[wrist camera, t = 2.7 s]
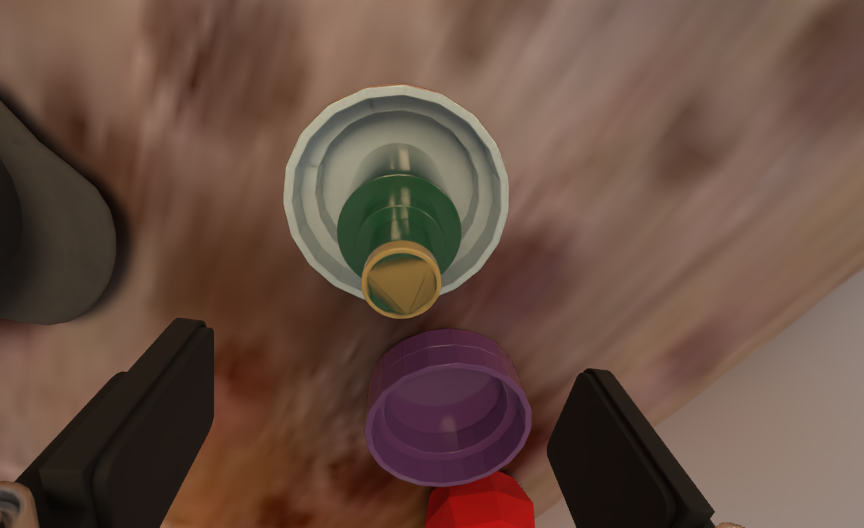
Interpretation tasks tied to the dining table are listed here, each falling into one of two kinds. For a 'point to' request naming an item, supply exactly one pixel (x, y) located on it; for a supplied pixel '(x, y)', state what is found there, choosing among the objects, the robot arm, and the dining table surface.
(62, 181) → the casserole
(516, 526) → the apple
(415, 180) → the bottle
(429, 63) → the dining table surface
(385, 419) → the plum bowl
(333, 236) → the pale bowl
